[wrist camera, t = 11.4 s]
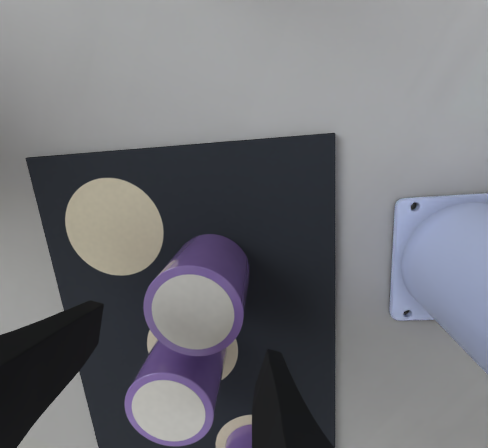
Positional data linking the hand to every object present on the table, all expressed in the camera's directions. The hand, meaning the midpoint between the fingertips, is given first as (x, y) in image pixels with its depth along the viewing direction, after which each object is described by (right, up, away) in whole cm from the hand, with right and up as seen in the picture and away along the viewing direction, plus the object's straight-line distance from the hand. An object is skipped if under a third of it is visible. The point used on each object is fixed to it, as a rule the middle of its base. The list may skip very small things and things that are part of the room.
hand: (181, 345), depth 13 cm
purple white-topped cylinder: (-1, -4, +9) cm, 9 cm away
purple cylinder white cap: (+1, +2, +7) cm, 7 cm away
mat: (-1, -4, +9) cm, 10 cm away
